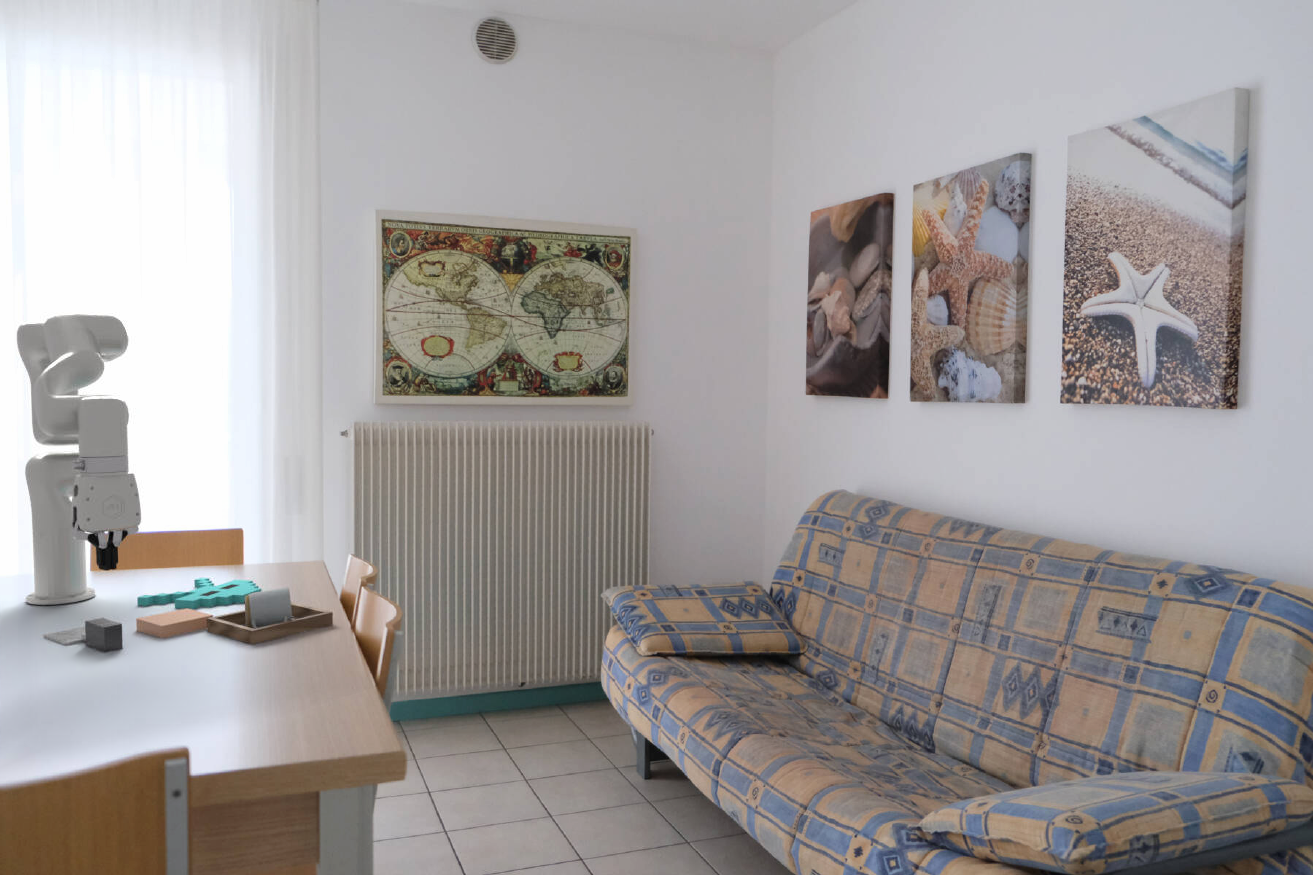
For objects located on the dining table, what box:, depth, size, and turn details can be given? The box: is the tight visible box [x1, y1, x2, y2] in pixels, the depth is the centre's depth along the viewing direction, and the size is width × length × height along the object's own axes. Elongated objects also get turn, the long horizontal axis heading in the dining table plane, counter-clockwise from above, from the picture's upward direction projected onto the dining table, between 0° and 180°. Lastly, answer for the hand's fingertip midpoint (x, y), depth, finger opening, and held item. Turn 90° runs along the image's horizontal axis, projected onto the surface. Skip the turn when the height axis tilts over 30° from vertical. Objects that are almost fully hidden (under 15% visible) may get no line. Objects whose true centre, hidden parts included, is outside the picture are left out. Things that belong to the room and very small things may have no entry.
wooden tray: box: [206, 602, 334, 645], centre depth 183 cm, size 15×17×2 cm
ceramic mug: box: [244, 586, 293, 629], centre depth 181 cm, size 11×8×8 cm
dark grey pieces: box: [43, 617, 124, 654], centre depth 173 cm, size 19×7×4 cm, turn 55°
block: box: [135, 608, 214, 639], centre depth 183 cm, size 3×10×9 cm
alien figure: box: [137, 577, 262, 610], centre depth 208 cm, size 20×2×20 cm
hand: (107, 568), depth 170 cm, fingers closed
